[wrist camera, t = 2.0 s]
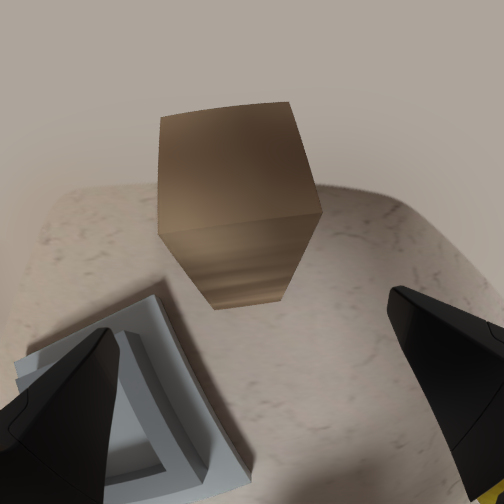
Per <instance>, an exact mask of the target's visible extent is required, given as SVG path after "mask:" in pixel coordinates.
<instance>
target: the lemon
mask: <svg viewBox="0 0 504 504" xmlns="http://www.w3.org/2000/svg"><path fill="white" fill-rule="evenodd" d="M503 491H504V479H503V480H502V481H501V482H499V483H498V484H497V485H495V486H494V487H493V488H491V489H490V490H489V491H487V492H486V493H484V494H483V495H481V496H480V497H478V498H477V500H478V502H479V503H480V504H495V503H496V500H497V497H498V495H499V494H500V493H502V492H503Z"/></svg>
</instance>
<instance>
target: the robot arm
mask: <svg viewBox="0 0 504 504" xmlns="http://www.w3.org/2000/svg"><path fill="white" fill-rule="evenodd" d="M387 314H388V317H389V319H390V322H391V324H392V327H393V329H394V331H395V334H396V336H397V339H398V341H399V344H400V346H401V348H402V351H403V353H404V355H405V357H406V359H407V360H408V362H409V364H410V366H411V368H412V370H413V372H414V374H415V376H416V378H417V380H418V382H419V384H420V386H421V388H422V390H423V392H424V394H425V396H426V398H427V400H428V402H429V404H430V406H431V409H432V411H433V413H434V415H435V417H436V419H437V421H438V424H439V426H440V428H441V430H442V433H443V435H444V437H445V439H446V442H447V444H448V446H449V449H450V451H451V454H452V456H453V459H454V461H455V464H456V466H457V469H458V471H459V474H460V477H461V479H462V482H463V484H464V487H465V490H466V493H467V495H468V498H469V500H470V502H472V501H474V500H475V499H477V498H478V497H480V496H481V495H483V494H484V493H486V492H487V491H489V490H490V489H491V488H493V487H494V486H495V485H497V484H498V483H499V482H501V481H502V480H503V479H504V328H502V327H500V326H497V325H495V324H493V323H491V322H486V320H484V319H481V318H479V317H477V316H474V315H472V314H470V313H467V312H465V311H463V310H460V309H458V308H456V307H453V306H451V305H448V304H446V303H444V302H441V301H439V300H436V299H434V298H432V297H429V296H427V295H424V294H422V293H420V292H417V291H415V290H412V289H410V288H407V287H405V286H397V287H393V288H391V290H390V293H389V299H388V304H387ZM119 359H120V348H119V345H118V343H117V341H116V338H115V336H114V334H113V332H112V330H111V329H110V328H109V327H99V328H97V329H96V330H94V331H93V332H92V333H91V334H90V335H88V336H87V337H86V338H85V339H84V340H82V341H81V342H80V343H79V344H78V345H76V346H75V347H74V348H73V349H72V350H70V351H69V352H68V353H67V354H66V355H64V356H63V357H62V358H61V359H60V360H59V361H57V362H56V363H55V364H54V365H53V366H52V367H50V368H49V369H48V370H47V371H46V372H45V373H43V374H42V375H41V376H40V377H39V378H38V379H37V380H35V381H34V382H33V383H32V384H31V385H30V386H29V387H28V388H26V389H25V390H24V391H23V392H22V393H21V394H20V395H18V396H17V397H16V398H15V399H14V400H13V401H11V402H10V403H9V404H8V405H6V406H5V407H4V408H3V409H1V410H0V504H103V503H104V488H105V476H106V466H107V456H108V448H109V440H110V433H111V426H112V419H113V413H114V407H115V401H116V394H117V385H118V371H119ZM495 504H504V491H503V492H502V493H500V494H499V495H498V497H497V500H496V503H495Z"/></svg>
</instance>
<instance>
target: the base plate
mask: <svg viewBox="0 0 504 504" xmlns="http://www.w3.org/2000/svg"><path fill="white" fill-rule="evenodd" d="M99 327H109V328H110V329H111V330H112V332H113V334H114V336H115V338H116V341H117V343H118V345H119V348H120V359H119V371H118V385H117V394H116V401H115V407H114V413H113V419H112V426H111V433H110V440H109V448H108V456H107V466H106V476H105V488H104V503H103V504H189V503H192V502H196V501H199V500H203V499H206V498H209V497H212V496H215V495H218V494H221V493H224V492H227V491H230V490H233V489H236V488H238V487H241V486H244V485H246V484H249V483H251V473H250V471H249V470H248V468H247V467H246V465H245V463H244V462H243V460H242V459H241V457H240V455H239V454H238V452H237V450H236V449H235V447H234V445H233V444H232V442H231V440H230V439H229V437H228V435H227V434H226V432H225V430H224V428H223V427H222V425H221V423H220V421H219V419H218V418H217V416H216V414H215V412H214V410H213V409H212V407H211V405H210V403H209V401H208V399H207V397H206V395H205V394H204V392H203V390H202V388H201V386H200V384H199V382H198V380H197V378H196V376H195V374H194V372H193V370H192V368H191V366H190V364H189V362H188V360H187V358H186V356H185V353H184V351H183V349H182V347H181V345H180V343H179V341H178V338H177V336H176V334H175V332H174V330H173V327H172V325H171V323H170V321H169V318H168V316H167V314H166V311H165V309H164V307H163V304H162V302H161V300H160V298H158V297H157V296H156V295H154V294H153V295H151V296H149V297H147V298H145V299H143V300H141V301H138V302H136V303H134V304H132V305H130V306H128V307H126V308H124V309H122V310H120V311H118V312H116V313H114V314H112V315H110V316H108V317H106V318H103V319H101V320H99V321H97V322H95V323H93V324H91V325H89V326H87V327H85V328H83V329H81V330H79V331H77V332H75V333H73V334H71V335H69V336H67V337H65V338H63V339H61V340H59V341H56V342H54V343H52V344H50V345H48V346H46V347H44V348H42V349H40V350H38V351H36V352H34V353H32V354H30V355H28V356H26V357H24V358H22V359H20V360H18V361H16V362H14V365H15V368H16V372H17V375H18V379H16V383H17V387H18V390H19V393H20V394H21V393H22V392H23V391H24V390H25V389H26V388H28V387H29V386H30V385H31V384H32V383H33V382H34V381H35V380H37V379H38V378H39V377H40V376H41V375H42V374H43V373H45V372H46V371H47V370H48V369H49V368H50V367H52V366H53V365H54V364H55V363H56V362H57V361H59V360H60V359H61V358H62V357H63V356H64V355H66V354H67V353H68V352H69V351H70V350H72V349H73V348H74V347H75V346H76V345H78V344H79V343H80V342H81V341H82V340H84V339H85V338H86V337H87V336H88V335H90V334H91V333H92V332H93V331H94V330H96V329H97V328H99Z"/></svg>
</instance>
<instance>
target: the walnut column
mask: <svg viewBox="0 0 504 504" xmlns="http://www.w3.org/2000/svg"><path fill="white" fill-rule="evenodd" d="M322 213H323V212H322V209H321V205H320V201H319V198H318V194H317V190H316V187H315V183H314V180H313V176H312V173H311V170H310V166H309V163H308V159H307V156H306V153H305V150H304V146H303V143H302V140H301V137H300V134H299V131H298V128H297V125H296V122H295V119H294V116H293V113H292V110H291V107H290V104H289V102H276V103H261V104H250V105H239V106H230V107H223V108H214V109H207V110H200V111H194V112H188V113H182V114H176V115H171V116H165V117H161V121H160V137H159V160H158V235H159V237H160V238H161V239H162V241H163V242H164V244H165V245H166V246H167V248H168V249H169V251H170V252H171V253H172V255H173V256H174V257H175V259H176V260H177V262H178V263H179V264H180V266H181V267H182V268H183V270H184V271H185V272H186V274H187V275H188V276H189V278H190V279H191V280H192V282H193V283H194V284H195V286H196V287H197V288H198V290H199V291H200V292H201V294H202V295H203V296H204V297H205V299H206V300H207V301H208V303H209V304H210V305H211V306H212V308H213V309H214V310H220V309H228V308H235V307H243V306H250V305H257V304H264V303H271V302H278V301H281V299H282V297H283V295H284V293H285V291H286V289H287V287H288V285H289V283H290V281H291V278H292V276H293V274H294V272H295V270H296V268H297V266H298V264H299V262H300V260H301V258H302V256H303V254H304V252H305V249H306V247H307V245H308V243H309V241H310V239H311V237H312V235H313V232H314V230H315V228H316V226H317V224H318V222H319V219H320V217H321V215H322Z"/></svg>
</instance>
